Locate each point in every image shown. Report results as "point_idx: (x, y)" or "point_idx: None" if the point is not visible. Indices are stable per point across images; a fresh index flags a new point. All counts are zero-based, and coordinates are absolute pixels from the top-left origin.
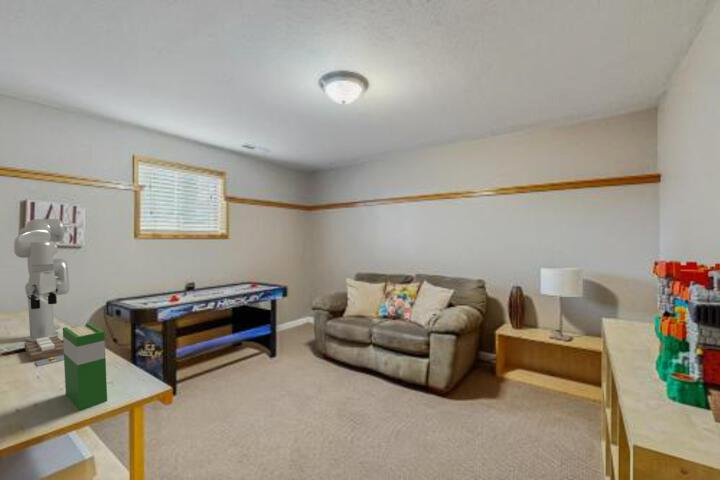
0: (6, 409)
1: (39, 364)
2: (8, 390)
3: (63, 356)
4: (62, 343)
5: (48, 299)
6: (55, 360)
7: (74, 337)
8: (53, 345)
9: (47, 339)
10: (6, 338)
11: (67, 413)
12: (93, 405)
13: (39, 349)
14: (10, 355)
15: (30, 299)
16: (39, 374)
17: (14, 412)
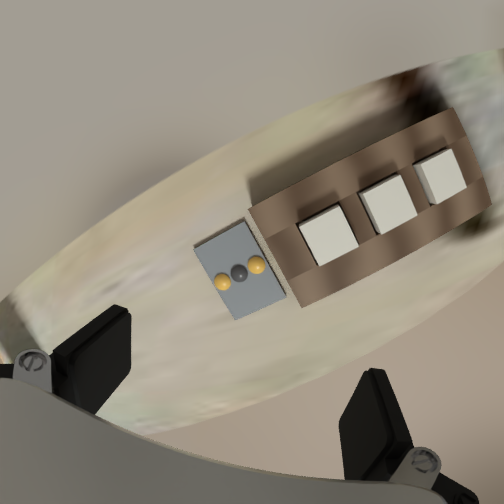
0: (14, 289)
1: (201, 251)
2: (59, 255)
3: (263, 299)
4: (377, 268)
5: (376, 408)
6: (222, 290)
7: None
8: (318, 262)
9: (433, 197)
10: None
11: (14, 362)
12: None
13: (326, 205)
14: (374, 92)
15: (26, 361)
16: (126, 283)
17: (9, 304)
